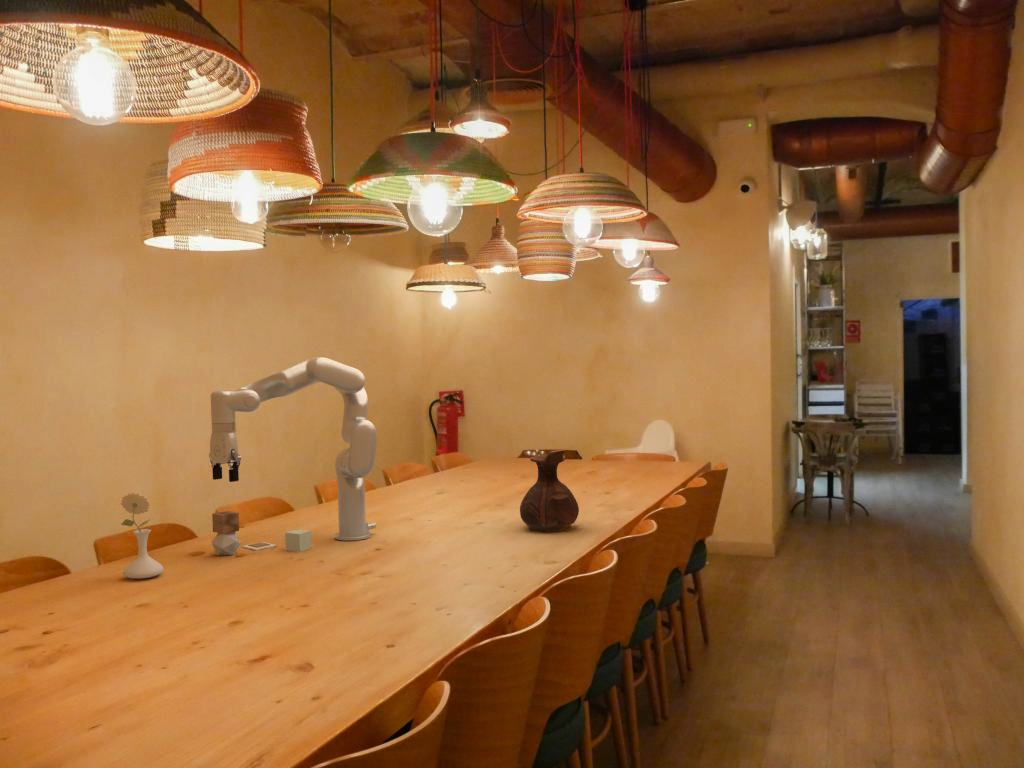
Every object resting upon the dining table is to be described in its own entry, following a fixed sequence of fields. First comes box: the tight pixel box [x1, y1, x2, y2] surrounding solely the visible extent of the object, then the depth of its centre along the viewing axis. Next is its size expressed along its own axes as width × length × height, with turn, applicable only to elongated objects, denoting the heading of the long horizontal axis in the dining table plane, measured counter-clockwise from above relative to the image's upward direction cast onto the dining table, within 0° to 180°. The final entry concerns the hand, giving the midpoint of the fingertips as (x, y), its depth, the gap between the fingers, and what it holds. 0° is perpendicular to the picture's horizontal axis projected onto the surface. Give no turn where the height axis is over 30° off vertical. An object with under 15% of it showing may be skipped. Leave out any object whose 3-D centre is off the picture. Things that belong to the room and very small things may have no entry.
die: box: [211, 531, 242, 556], centre depth 293 cm, size 8×9×10 cm
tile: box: [241, 541, 277, 551], centre depth 304 cm, size 8×8×1 cm
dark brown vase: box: [519, 449, 580, 532], centre depth 325 cm, size 22×22×30 cm
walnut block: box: [211, 510, 240, 534], centre depth 293 cm, size 6×6×6 cm
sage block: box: [284, 529, 312, 553], centre depth 299 cm, size 6×6×6 cm
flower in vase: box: [120, 492, 165, 580], centre depth 265 cm, size 13×11×25 cm
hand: (225, 480), depth 293 cm, fingers open, 9 cm apart
